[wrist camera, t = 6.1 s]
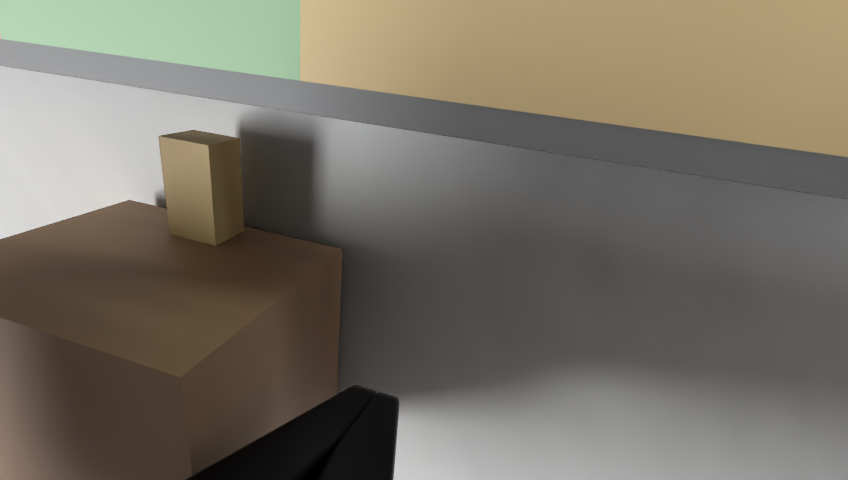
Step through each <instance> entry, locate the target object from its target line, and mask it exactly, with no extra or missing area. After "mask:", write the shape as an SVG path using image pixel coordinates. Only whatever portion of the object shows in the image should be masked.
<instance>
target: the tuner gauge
mask: <svg viewBox="0 0 848 480" xmlns="http://www.w3.org/2000/svg"><path fill="white" fill-rule="evenodd" d="M0 66H6V67H12V68H19V69H25V70H31V71H38V72H44V73H50V74H57V75H63V76H69V77H76V78H82V79H88V80H95V81H101V82H107V83H114V84H120V85H126V86H133V87H139V88H145V89H152V90H158V91H164V92H171V93H177V94H183V95H190V96H196V97H203V98H209V99H215V100H222V101H228V102H234V103H241V104H247V105H253V106H260V107H266V108H272V109H279V110H285V111H291V112H298V113H304V114H310V115H317V116H323V117H329V118H336V119H342V120H348V121H355V122H361V123H367V124H374V125H380V126H386V127H393V128H399V129H405V130H412V131H418V132H424V133H431V134H437V135H443V136H450V137H456V138H462V139H469V140H475V141H481V142H488V143H494V144H500V145H507V146H513V147H519V148H526V149H532V150H538V151H545V152H551V153H557V154H564V155H570V156H576V157H583V158H589V159H595V160H602V161H608V162H614V163H621V164H627V165H633V166H640V167H646V168H652V169H659V170H665V171H671V172H678V173H684V174H690V175H697V176H703V177H709V178H716V179H722V180H729V181H735V182H741V183H748V184H754V185H760V186H767V187H773V188H779V189H786V190H792V191H798V192H805V193H811V194H817V195H824V196H830V197H836V198H843V199H848V0H0Z"/></svg>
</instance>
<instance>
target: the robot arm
mask: <svg viewBox="0 0 848 480" xmlns="http://www.w3.org/2000/svg"><path fill="white" fill-rule="evenodd" d="M398 414H399V399H398V398H397V397H394V396H391V395H388V394H385V393H381V392H377V393H376V391H374V390H371V389H368V388H365V387H361V386H358V385H354V386H351V387H349V388H347V389H346V390H344V391H342V392H340V393H338V394H337V395H335V396H333V397H331V398H330V399H328V400H326V401H324V402H322V403H321V404H319V405H317V406H315V407H314V408H312V409H310V410H308V411H306V412H305V413H303V414H301V415H299V416H298V417H296V418H294V419H292V420H290V421H289V422H287V423H285V424H283V425H281V426H280V427H278V428H276V429H274V430H273V431H271V432H269V433H267V434H265V435H264V436H262V437H260V438H258V439H257V440H255V441H253V442H251V443H249V444H248V445H246V446H244V447H242V448H240V449H239V450H237V451H235V452H233V453H232V454H230V455H228V456H226V457H224V458H223V459H221V460H219V461H217V462H216V463H214V464H212V465H210V466H208V467H207V468H205V469H203V470H201V471H199V472H198V473H196V474H194V475H192V476H191V477H189V478H187V479H185V480H393V477H394V464H395V452H396V439H397V427H398Z"/></svg>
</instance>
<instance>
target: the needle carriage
mask: <svg viewBox="0 0 848 480" xmlns="http://www.w3.org/2000/svg"><path fill="white" fill-rule="evenodd" d="M159 145H160V154H161V163H162V171H163V180H164V189H165V198H166V206H167V209H166V208H162V207H157V206H153V205H149V204H144V203H140V202H136V201H131V200H128V201H125V202H121V203H118V204H115V205H112V206H108V207H105V208H102V209H98V210H95V211H92V212H89V213H85V214H82V215H79V216H76V217H72V218H69V219H66V220H62V221H59V222H56V223H53V224H49V225H46V226H43V227H40V228H36V229H33V230H30V231H27V232H23V233H20V234H17V235H13V236H10V237H7V238H4V239H0V480H185V479H187V478H189V477H191V476H192V475H194V474H196V473H198V472H199V471H201V470H203V469H205V468H207V467H208V466H210V465H212V464H214V463H216V462H217V461H219V460H221V459H223V458H224V457H226V456H228V455H230V454H232V453H233V452H235V451H237V450H239V449H240V448H242V447H244V446H246V445H248V444H249V443H251V442H253V441H255V440H257V439H258V438H260V437H262V436H264V435H265V434H267V433H269V432H271V431H273V430H274V429H276V428H278V427H280V426H281V425H283V424H285V423H287V422H289V421H290V420H292V419H294V418H296V417H298V416H299V415H301V414H303V413H305V412H306V411H308V410H310V409H312V408H314V407H315V406H317V405H319V404H321V403H322V402H324V401H326V400H328V399H330V398H331V397H333V396H335V395H337V380H338V355H339V329H340V304H341V278H342V253H343V249H340V248H336V247H331V246H327V245H322V244H318V243H314V242H309V241H305V240H301V239H296V238H292V237H288V236H283V235H279V234H275V233H270V232H266V231H262V230H257V229H253V228H249V227H244V215H243V194H242V173H241V153H240V138H235V137H230V136H224V135H219V134H213V133H207V132H202V131H196V130H190V131H185V132H179V133H173V134H168V135H162V136H159Z"/></svg>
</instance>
